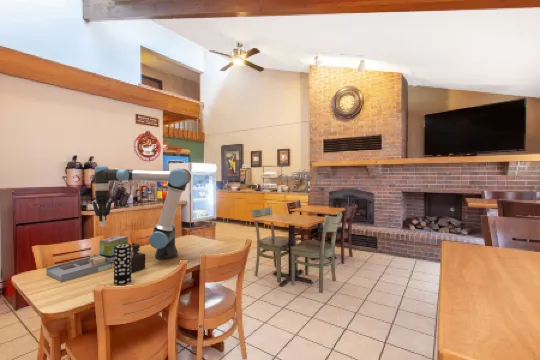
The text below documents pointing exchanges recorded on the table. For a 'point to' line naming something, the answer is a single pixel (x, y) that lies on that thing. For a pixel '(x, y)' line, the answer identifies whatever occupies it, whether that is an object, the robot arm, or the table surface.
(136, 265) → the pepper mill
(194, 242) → the table surface
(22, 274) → the table surface
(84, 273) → the track
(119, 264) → the spotted tube
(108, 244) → the tea box
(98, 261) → the block
